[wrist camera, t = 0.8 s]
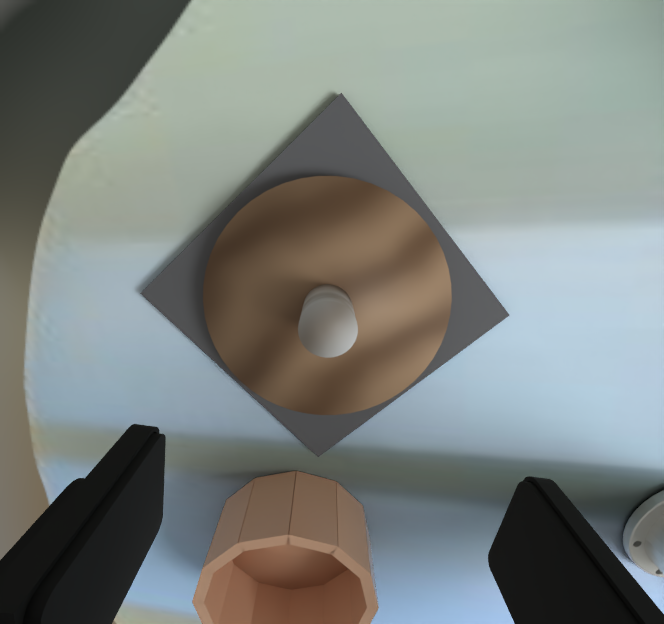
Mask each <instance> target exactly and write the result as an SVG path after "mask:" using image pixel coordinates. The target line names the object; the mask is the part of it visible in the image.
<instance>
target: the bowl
mask: <svg viewBox="0 0 664 624" xmlns="http://www.w3.org/2000/svg"><path fill="white" fill-rule="evenodd" d="M192 603H193V605H194V607H195V609H196V611H197V613H198V616H199V618H200V620H201V622H202V624H370V623H371V621H372V619H373V617H374V616H375V614H376V612H377V610H378V608H379V607H378V599H377V591H376V583H375V575H374V567H373V559H372V551H371V543H370V535H369V531H368V526H367V522H366V517H365V513H364V508H363V505H362V504H361V503H360V502H358V501H357V500H356V499H355V498H354V497H353V496H352V495H351V494H350V493H349V492H347V491H346V490H345V489H344V488H343V487H342V486H341V485H340V484H339V483H338V482H336V481H333V480H329V479H326V478H322V477H318V476H314V475H311V474H307V473H303V472H299V471H292V472H286V473H280V474H274V475H268V476H263V477H257V478H254V479H253V480H252V481H250V482H249V483H248V484H246V485H245V486H244V487H242V488H241V489H240V490H238V491H237V492H236V493H235V494H233V495H232V496H231V497H229V498H228V499H227V500H226V502H225V505H224V508H223V510H222V513H221V516H220V519H219V522H218V525H217V528H216V531H215V534H214V536H213V539H212V542H211V545H210V548H209V551H208V554H207V557H206V560H205V563H204V565H203V568H202V572H201V575H200V578H199V581H198V585H197V588H196V591H195V594H194V597H193V601H192Z"/></svg>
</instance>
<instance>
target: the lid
mask: <svg viewBox="0 0 664 624" xmlns="http://www.w3.org/2000/svg"><path fill="white" fill-rule="evenodd" d="M451 302H452V293H451V280H450V274H449V268H448V265H447V262H446V259H445V255H444V253H443V250H442V248H441V246H440V244H439V242H438V240H437V238H436V236H435V235H434V233H433V232H432V230H431V229H430V227H429V226H428V224H427V223H426V222H425V221H424V220H423V219H422V218H421V216H420V215H419V214H418V213H417V212H416V211H415V210H414V209H413V208H411V207H410V206H409V205H408V204H407V203H405V202H404V201H403V200H402V199H400V198H399V197H397V196H395V195H394V194H392V193H391V192H389V191H387V190H385V189H383V188H381V187H378V186H376V185H374V184H372V183H368V182H365V181H361V180H358V179H354V178H347V177H340V176H314V177H307V178H300V179H297V180H293V181H290V182H286V183H283V184H281V185H279V186H276V187H274V188H272V189H270V190H267V191H266V192H264V193H262V194H261V195H259V196H258V197H256V198H255V199H253V200H251V201H250V202H249V203H248V204H247V205H246V206H244V207H243V208H242V209H241V210H240V211H239V212H238V213H237V214H236V215H235V216H234V217H233V218H232V219H231V221H230V222H229V223H228V224H227V225H226V227H225V228H224V230H223V231H222V233H221V234H220V236H219V237H218V239H217V241H216V243H215V245H214V248H213V250H212V252H211V254H210V257H209V261H208V264H207V267H206V271H205V278H204V284H203V306H204V314H205V319H206V323H207V327H208V331H209V334H210V336H211V339H212V341H213V344H214V346H215V348H216V350H217V351H218V353H219V355H220V357H221V358H222V360H223V361H224V363H225V364H226V365H227V367H228V368H229V369H230V371H231V372H232V373H233V374H234V375H235V376H236V377H237V378H238V379H239V380H240V381H241V382H242V383H243V384H244V385H246V386H247V387H248V388H249V389H250V390H252V391H253V392H255V393H256V394H258V395H259V396H261V397H262V398H264V399H266V400H268V401H270V402H272V403H274V404H276V405H278V406H281V407H284V408H287V409H290V410H293V411H297V412H302V413H306V414H315V415H340V414H348V413H353V412H357V411H362V410H365V409H368V408H371V407H374V406H376V405H379V404H381V403H383V402H385V401H387V400H389V399H391V398H392V397H394V396H395V395H397V394H398V393H400V392H402V391H403V390H404V389H406V388H407V387H408V386H409V385H410V384H411V383H413V382H414V381H415V380H416V379H417V378H418V377H419V376H420V375H421V374H422V372H423V371H424V370H425V369H426V368H427V366H428V365H429V364H430V362H431V361H432V359H433V358H434V356H435V354H436V353H437V351H438V349H439V347H440V345H441V343H442V340H443V338H444V335H445V333H446V330H447V326H448V322H449V318H450V311H451Z"/></svg>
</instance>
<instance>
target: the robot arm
mask: <svg viewBox="0 0 664 624" xmlns="http://www.w3.org/2000/svg"><path fill="white" fill-rule="evenodd" d="M164 467H165V435H164V434H159V429H158V427H153V426H145V425H138V424H133V425H131V426H130V427H129V428H128V429H127V430H126V432H125V433H124V434H123V435H122V436H121V437H120V439H119V440H118V441H117V442H116V443H115V444H114V446H113V447H112V448H111V449H110V450H109V451H108V452H107V454H106V455H105V456H104V457H103V458H102V459H101V461H100V462H99V463H98V464H97V465H96V466H95V467H94V469H93V470H92V471H91V472H90V473H89V474H88V476H87V477H86V478H78V479H76V480H74V481H73V482H72V483H71V484H69V485H68V486H67V487H66V488H65V489H64V491H63V492H62V493H61V494H60V495H59V496H58V497H57V498H56V499H55V501H54V502H53V503H52V504H51V505H50V506H49V507H48V508H47V509H46V510H45V512H44V513H43V514H42V515H41V516H40V517H39V518H38V519H37V520H36V522H35V523H34V524H33V525H32V526H31V527H30V528H29V529H28V531H26V533H25V534H24V535H23V536H22V537H21V538H20V539H19V541H17V543H16V544H15V545H14V546H13V547H12V548H11V549H10V550H9V551H8V552H7V554H6V555H5V556H4V557H3V558H2V559H1V560H0V624H112V622H113V620H114V618H115V616H116V614H117V612H118V610H119V608H120V606H121V604H122V602H123V600H124V598H125V597H126V595H127V593H128V591H129V589H130V587H131V585H132V583H133V581H134V579H135V577H136V575H137V573H138V571H139V569H140V567H141V565H142V563H143V561H144V559H145V557H146V555H147V553H148V551H149V549H150V547H151V545H152V543H153V541H154V539H155V537H156V535H157V533H158V531H159V528H160V525H161V522H162V517H163V495H164ZM623 545H624V549H625V551H626V553H627V555H628V556H629V558H630V559H631V560H632V561H633V562H634V563H635V564H636V565H637V567H639V568H640V569H641V570H643V571H644V572H647V573H649V574H651V575H655V576H659V577H664V490H663V491H661V492H659V493H657V494H655V495H653V496H652V497H650V498H649V499H648V500H646V501H645V502H643V503H642V504H641V505H640V506H639V507H638V508H637V509H636V510H635V511H634V513H633V514H632V515H631V517H630V518H629V520H628V522H627V524H626V526H625V529H624V533H623ZM488 562H489V567H490V570H491V572H492V574H493V576H494V579H495V581H496V583H497V585H498V587H499V590H500V592H501V594H502V596H503V598H504V601H505V603H506V605H507V607H508V610H509V612H510V614H511V616H512V618H513V621H514V623H515V624H664V614H663V613H662V612H661V611H660V609H659V608H658V607H657V606H656V605H655V603H654V602H653V601H652V600H651V598H650V597H649V596H648V595H647V594H646V592H645V591H644V590H643V589H642V588H641V586H640V585H639V584H638V583H637V581H636V580H635V579H634V578H633V577H632V575H631V574H630V573H629V572H628V571H627V569H626V568H625V567H624V566H623V564H622V563H621V562H620V561H619V560H618V558H617V557H616V556H615V555H614V553H613V552H612V551H611V550H610V549H609V547H608V546H607V545H606V544H605V543H604V541H603V540H602V539H601V538H600V536H599V535H598V534H597V533H596V532H595V530H594V529H593V528H592V527H591V526H590V524H589V523H588V522H587V521H586V519H585V518H584V517H583V516H582V515H581V513H580V512H579V511H578V510H577V509H576V507H575V506H574V505H573V504H572V502H571V501H570V500H569V499H568V498H567V496H566V495H565V494H564V493H563V492H562V490H561V489H560V488H559V487H558V485H557V484H556V483H555V482H554V481H552V480H550V479H545V478H537V477H526V478H525V479H524V480H523V482H520V483H519V484H518V486H517V488H516V491H515V493H514V495H513V498H512V500H511V502H510V504H509V507H508V509H507V511H506V514H505V516H504V518H503V521H502V523H501V525H500V528H499V530H498V532H497V535H496V537H495V539H494V542H493V544H492V546H491V549H490V551H489V554H488Z"/></svg>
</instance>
